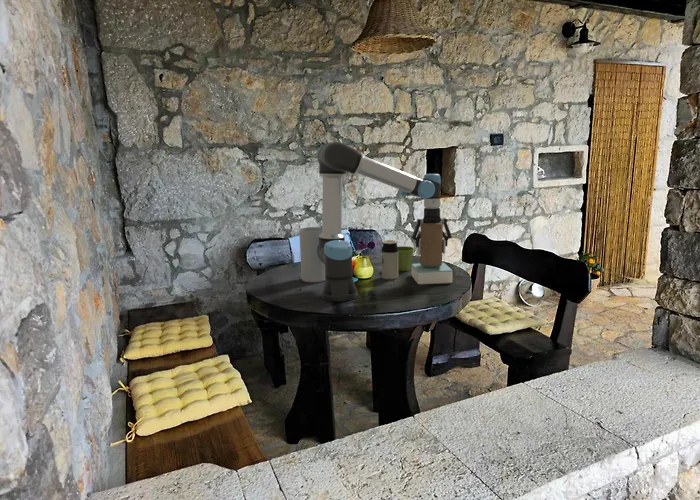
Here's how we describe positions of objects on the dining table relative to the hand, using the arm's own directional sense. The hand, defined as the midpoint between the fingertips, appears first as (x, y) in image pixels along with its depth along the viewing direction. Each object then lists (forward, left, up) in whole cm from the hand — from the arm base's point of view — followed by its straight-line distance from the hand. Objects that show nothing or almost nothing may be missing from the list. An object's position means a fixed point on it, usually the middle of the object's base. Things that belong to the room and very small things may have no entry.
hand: (431, 253), depth 222 cm
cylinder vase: (-56, +8, -13) cm, 58 cm away
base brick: (0, 0, -12) cm, 12 cm away
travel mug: (-19, +6, -13) cm, 24 cm away
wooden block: (0, 0, -5) cm, 5 cm away
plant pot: (-10, +21, -13) cm, 26 cm away
